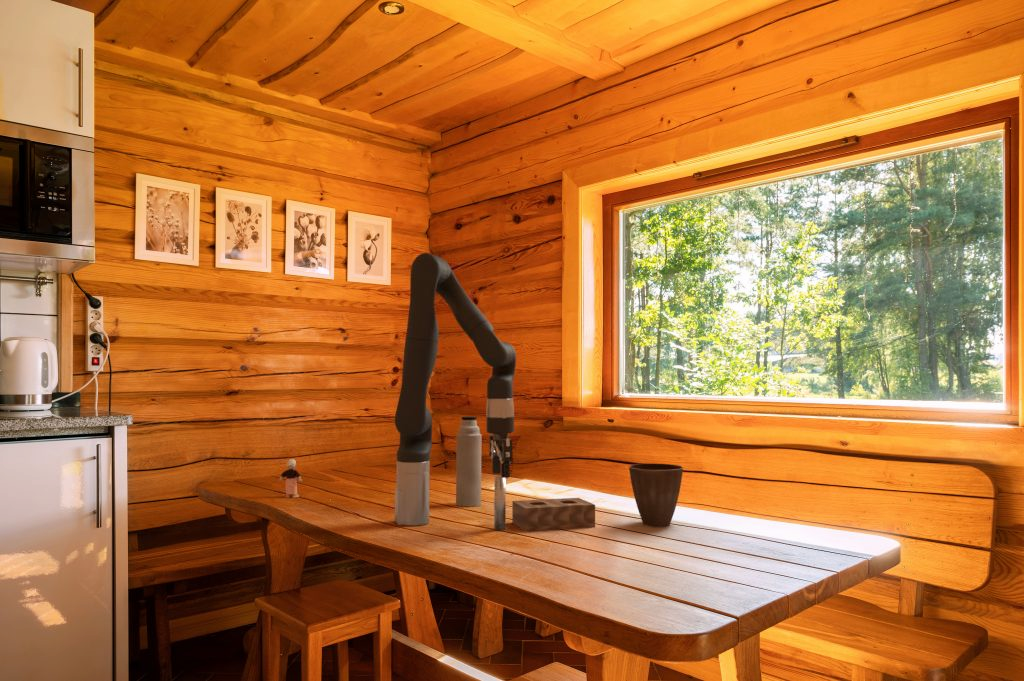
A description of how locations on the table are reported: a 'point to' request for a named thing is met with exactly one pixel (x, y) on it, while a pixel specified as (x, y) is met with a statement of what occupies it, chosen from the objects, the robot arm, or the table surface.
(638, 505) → the plant pot
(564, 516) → the walnut bore block
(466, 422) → the thermos bottle
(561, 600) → the table surface
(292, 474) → the grandmother figurine
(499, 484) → the metal pin
